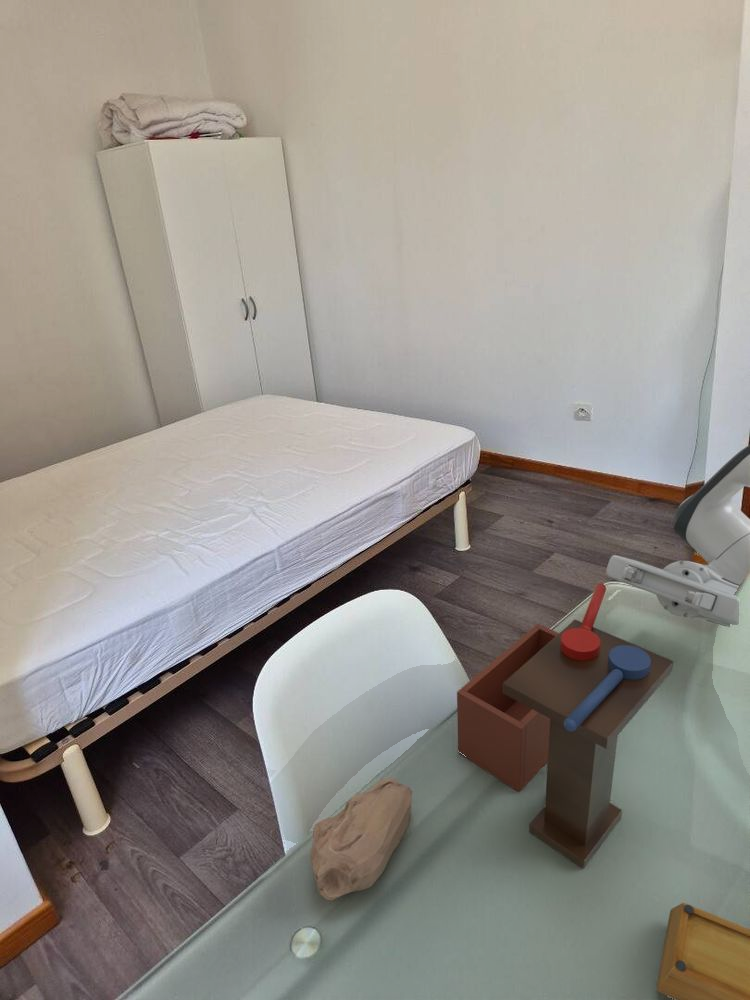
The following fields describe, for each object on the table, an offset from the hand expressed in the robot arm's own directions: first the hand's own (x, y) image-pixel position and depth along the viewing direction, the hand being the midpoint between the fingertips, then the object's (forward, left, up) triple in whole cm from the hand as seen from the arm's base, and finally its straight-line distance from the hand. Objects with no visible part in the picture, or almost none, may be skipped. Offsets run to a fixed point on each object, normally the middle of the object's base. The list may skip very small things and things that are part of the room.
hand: (658, 585), depth 99 cm
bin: (+19, +3, -24) cm, 30 cm away
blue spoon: (+15, +24, +2) cm, 28 cm away
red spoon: (+13, +11, +2) cm, 17 cm away
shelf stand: (+16, +20, -24) cm, 35 cm away
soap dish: (+5, +40, -18) cm, 45 cm away
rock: (+40, +25, -21) cm, 52 cm away
